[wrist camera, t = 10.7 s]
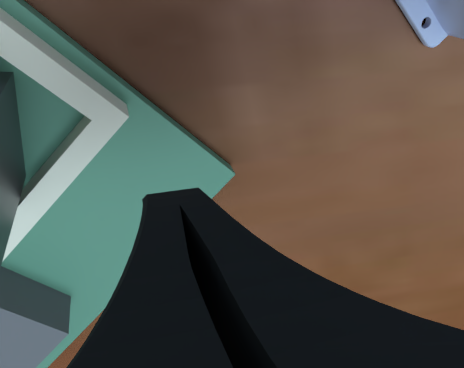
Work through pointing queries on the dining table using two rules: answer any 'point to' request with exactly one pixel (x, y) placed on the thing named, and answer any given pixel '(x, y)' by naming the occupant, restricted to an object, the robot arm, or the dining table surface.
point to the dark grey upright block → (9, 158)
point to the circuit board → (79, 184)
